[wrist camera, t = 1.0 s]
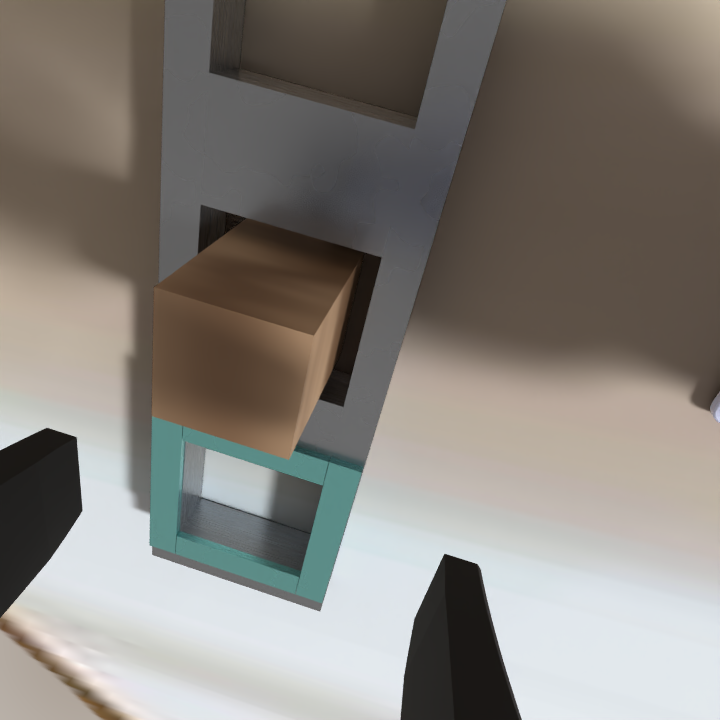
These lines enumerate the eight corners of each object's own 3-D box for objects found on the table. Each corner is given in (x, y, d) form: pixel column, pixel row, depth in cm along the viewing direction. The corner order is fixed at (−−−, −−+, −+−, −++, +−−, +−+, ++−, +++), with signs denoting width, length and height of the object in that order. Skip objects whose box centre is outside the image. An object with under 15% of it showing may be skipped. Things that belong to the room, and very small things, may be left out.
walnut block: (365, 250, 18) (313, 335, 13) (341, 352, 20) (289, 460, 15) (249, 216, 18) (153, 286, 13) (237, 320, 20) (151, 415, 15)
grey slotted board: (586, -262, 11) (605, -324, 9) (331, 574, 26) (318, 617, 24) (219, -345, 12) (166, -418, 10) (173, 522, 27) (148, 560, 25)
